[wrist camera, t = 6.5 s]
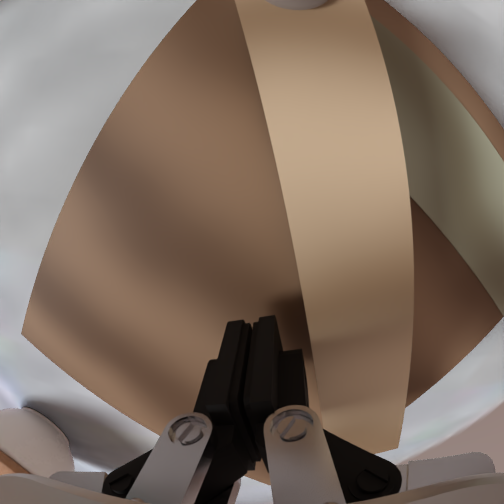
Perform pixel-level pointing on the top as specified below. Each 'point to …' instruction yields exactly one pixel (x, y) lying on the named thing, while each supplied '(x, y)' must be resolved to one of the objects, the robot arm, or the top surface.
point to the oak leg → (341, 204)
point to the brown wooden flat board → (251, 222)
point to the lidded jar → (32, 444)
